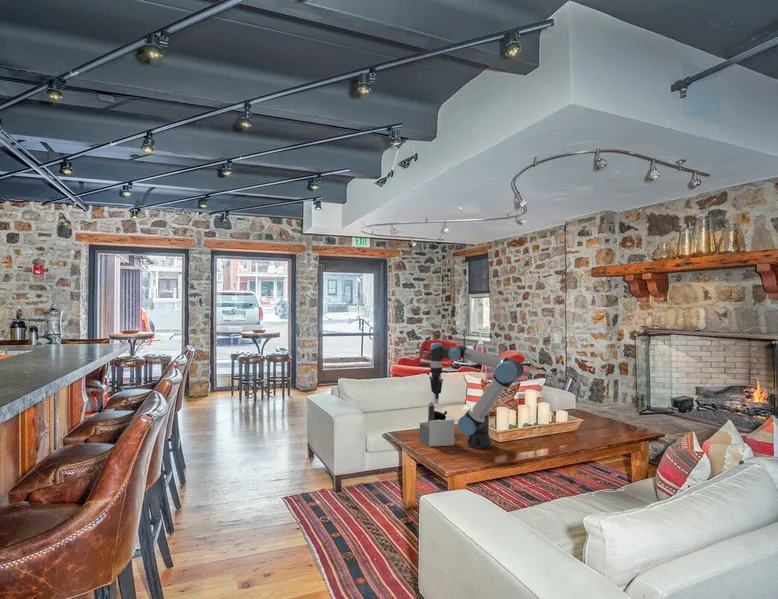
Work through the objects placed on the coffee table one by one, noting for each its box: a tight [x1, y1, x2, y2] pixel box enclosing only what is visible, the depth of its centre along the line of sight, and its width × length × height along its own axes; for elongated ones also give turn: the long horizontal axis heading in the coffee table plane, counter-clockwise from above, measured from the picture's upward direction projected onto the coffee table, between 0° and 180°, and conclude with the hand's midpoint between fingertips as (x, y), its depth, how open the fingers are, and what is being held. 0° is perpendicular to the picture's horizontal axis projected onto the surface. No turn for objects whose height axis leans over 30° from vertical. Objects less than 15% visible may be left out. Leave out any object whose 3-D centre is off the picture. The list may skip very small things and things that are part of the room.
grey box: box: [419, 421, 431, 448], centre depth 303 cm, size 12×18×13 cm
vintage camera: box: [427, 401, 448, 422], centre depth 328 cm, size 10×16×20 cm, turn 89°
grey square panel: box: [428, 419, 455, 447], centre depth 295 cm, size 16×1×16 cm, turn 100°
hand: (436, 403), depth 300 cm, fingers closed
